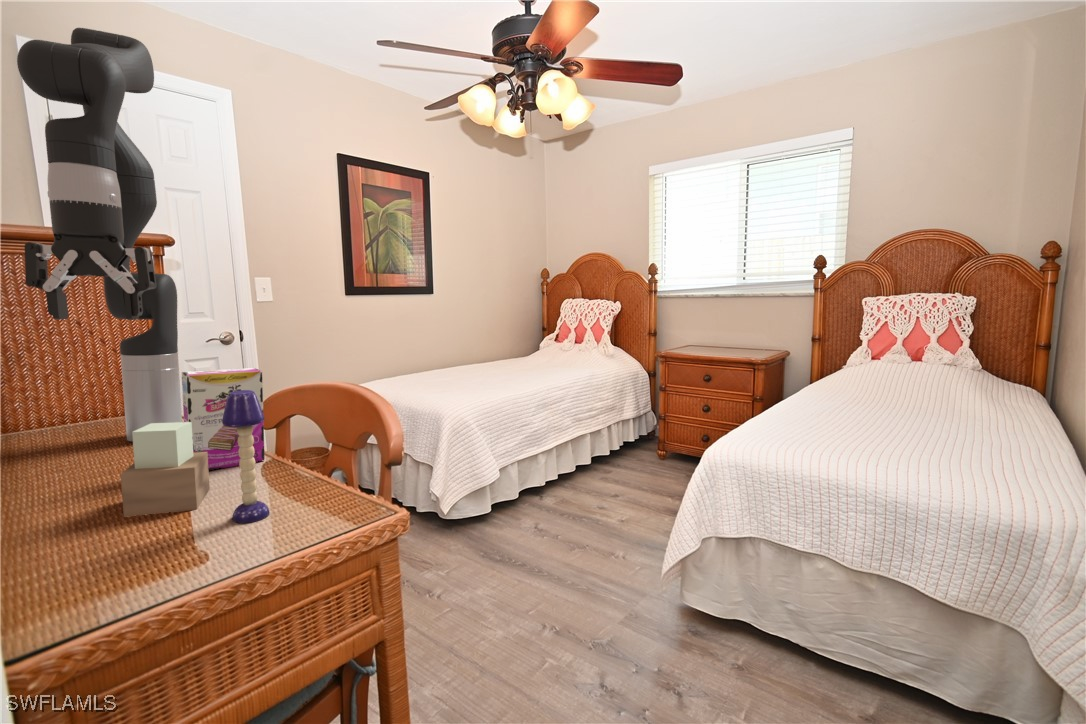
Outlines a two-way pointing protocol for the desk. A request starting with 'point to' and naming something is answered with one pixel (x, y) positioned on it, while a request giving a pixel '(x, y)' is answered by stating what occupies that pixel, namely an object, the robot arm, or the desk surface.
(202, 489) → the walnut block
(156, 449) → the sage block
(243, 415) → the toy lamp
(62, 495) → the desk surface
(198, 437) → the candy bar box
